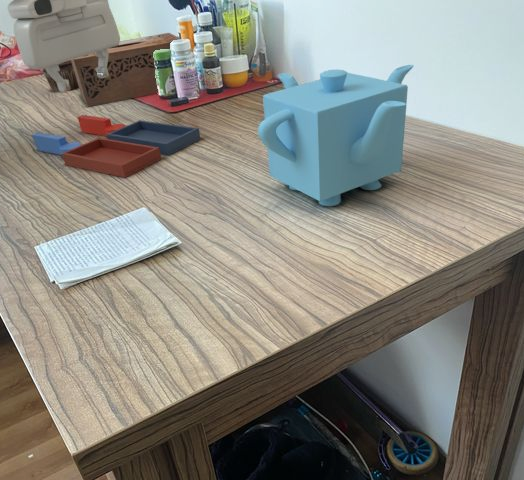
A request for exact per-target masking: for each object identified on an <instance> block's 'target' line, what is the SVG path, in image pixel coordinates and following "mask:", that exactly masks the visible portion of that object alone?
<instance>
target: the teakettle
mask: <svg viewBox="0 0 524 480" xmlns="http://www.w3.org/2000/svg"><path fill="white" fill-rule="evenodd" d="M414 67H415V66H414V64H406V65H403V66H399V67H397V68H395V69H394V70H393V71H391V73H390V75H389V76H388V78H387V80H384V79H380V78H377V77H376V78H375V77H371V76H366V75H361V74H357V73H351V72H348V71H346V70H344V69H328V70H325V71H323V72H320V74H319V79H316V80H312V81H309V82H306V83H305V82H304V83H301V84H299V83H298V81H297V79H296V78H295V77H294V76H293V75H291V74H289V73H283V72H282V73H278V74H277V78H278V79H279V80H280V82H281V83H282V85H283V89H280V90H275V91H272V92H269V93H266V94H263V96H262V103H263V104H262V105H263V114H264V115H263V116H264V119H263V120H262V121H261V122H260V123H259V125H258V127H257V135H258V137H259V139H260V141H261V142H262V144H263V145H264V146H265V147H266V148H267V159H268V170H269V177H271V178H273V179H275V180H277V181H278V182H281V183H283V184H285V185H287V186H288V188H289V189H290V190H292V191H299V192H301V193H303V194H304V195H307V196H308V197H311V198H312V199H314V200H317V201H318V204H319V205H321V206H323V207H333V206H337V205H339V204H340V203H341V202H342V198H341V197H342V196H341V194H344V193H346V192H348V191H351V190H354V189H356V188H360V189H361V190H365V191H375V190H378V189H380V188H381V187H382V183H380V181H379V180H380V179H383V178H385V177H388V176H391V175H394V174H396V173H399V172H402V167H403V155H404V141H405V129H406V128H405V127H406V117H407V115H406V114H407V104H408V103H407V102H408V101H407V100H408V91H409V90H408V89H409V87H408V85H407V84H403V80H405V77H406V76H407V75H408V74H409V72H410V71H412V69H413V68H414Z"/></svg>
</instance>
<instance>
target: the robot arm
mask: <svg viewBox="0 0 524 480" xmlns="http://www.w3.org/2000/svg"><path fill="white" fill-rule="evenodd" d="M7 11H8V14H9V16H10V17H11V19H15V21H14V23H13V34H14V38H15V43H16V45H17V49H18V52H19V54H20V57H21V59H22V62H23V64H24V65H25V66H26V67H27V68H29V69H30V70H36V71H37V70H38V71H39V70H43V69H44V68H46V71H47V73H48V74H49V75H50V76H51V77H52V78H53V79H54V80H55V81H56V83H57V86H58V88H59V91H60V92H59V93H66V92H68V90H69V91H71V90H70V89H71V87H70V85H69V81H68V80H65V79H63V78H62V77H61V75H60V74H59V73H58V72H57V71H60V69H59V66H58V64H60V63H63V62H66V61H70V60H73V59H76V58H79V57H82V56H86V55H89V54H92V53H95V54H96V56H97V57H99V60H98V67H97V68H95V69H96V72H97V76H98V78H105V77H108V76H109V73H108V70H107V63H108V57H109V55H108V51H107V49H108V48H111V47H114V46H117V45H119V42H120V41H121V36H120V32H119V28H118V26H117V22H116V20H115V17H114V15H113V11H112V10H111V8H110V3H109V0H11V1H10V3H8V5H7Z"/></svg>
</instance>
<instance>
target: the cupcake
mask: <svg viewBox="0 0 524 480" xmlns="http://www.w3.org/2000/svg"><path fill="white" fill-rule="evenodd" d="M58 66H59V69H60V71H57V72H58V73H59V74H60V75H61V77H62V78H63V79H65V80H68V81H69V85H70V87H71V89H70V90H68V91H72V90H76V89H79V86H78V82H77V79H76V76H75V72H74V69H73V66H72V62H71V60H70V61H66V62H63V63H60V64H58ZM41 73H42V74H43V76H44V78H45V79H46V81H47V83H48V85H49V87H50V89H51V91H52V92H54V93H55V92H56V93H57V92H58V93H61V92H60V91H59V88H58V86H57V83H56V81H55V80H54V79H53V78H52V77H51V76H50V75H49V74H48V73H47V71H46V68H44V69H42V71H41ZM68 91H67V92H68Z"/></svg>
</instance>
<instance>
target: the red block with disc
mask: <svg viewBox="0 0 524 480" xmlns="http://www.w3.org/2000/svg"><path fill="white" fill-rule="evenodd" d="M76 118H77V122H78V125H79V127H80V131H81V133H85V134H91V135H96V136H97V135H98V136H104V137H107V134H109V133H111V132H113V131H116V130H118V129H120V128H123V127H125V126H126V124H125V123H114V124H112V121H111V118H108V117H101V116H93V115H85V114H82V115H79V116H77V117H76Z"/></svg>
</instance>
